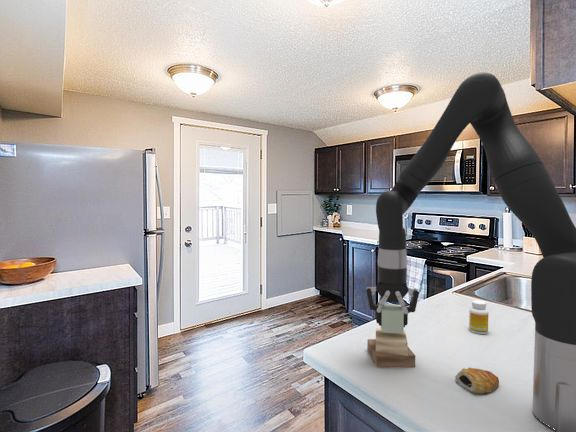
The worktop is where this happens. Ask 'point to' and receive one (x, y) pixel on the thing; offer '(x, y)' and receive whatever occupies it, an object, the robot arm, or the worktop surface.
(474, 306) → the supplement bottle
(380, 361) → the block bottom
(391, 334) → the block top
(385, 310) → the sage block
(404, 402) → the worktop surface
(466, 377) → the pastry
